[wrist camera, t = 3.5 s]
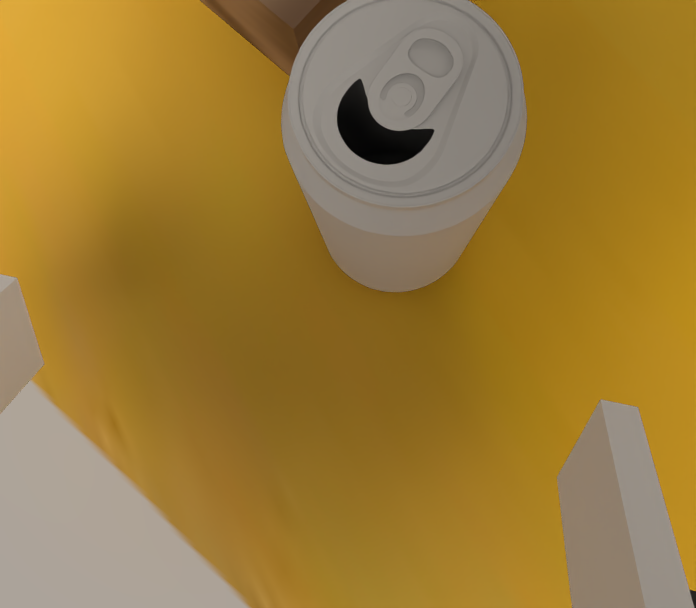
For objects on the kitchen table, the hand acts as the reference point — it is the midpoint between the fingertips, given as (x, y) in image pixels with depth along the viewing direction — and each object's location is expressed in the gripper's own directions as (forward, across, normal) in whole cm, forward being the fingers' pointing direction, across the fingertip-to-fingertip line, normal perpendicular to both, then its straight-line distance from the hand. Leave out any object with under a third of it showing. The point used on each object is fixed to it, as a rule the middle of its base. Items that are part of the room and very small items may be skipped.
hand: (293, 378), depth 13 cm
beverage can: (+14, +1, -3) cm, 14 cm away
